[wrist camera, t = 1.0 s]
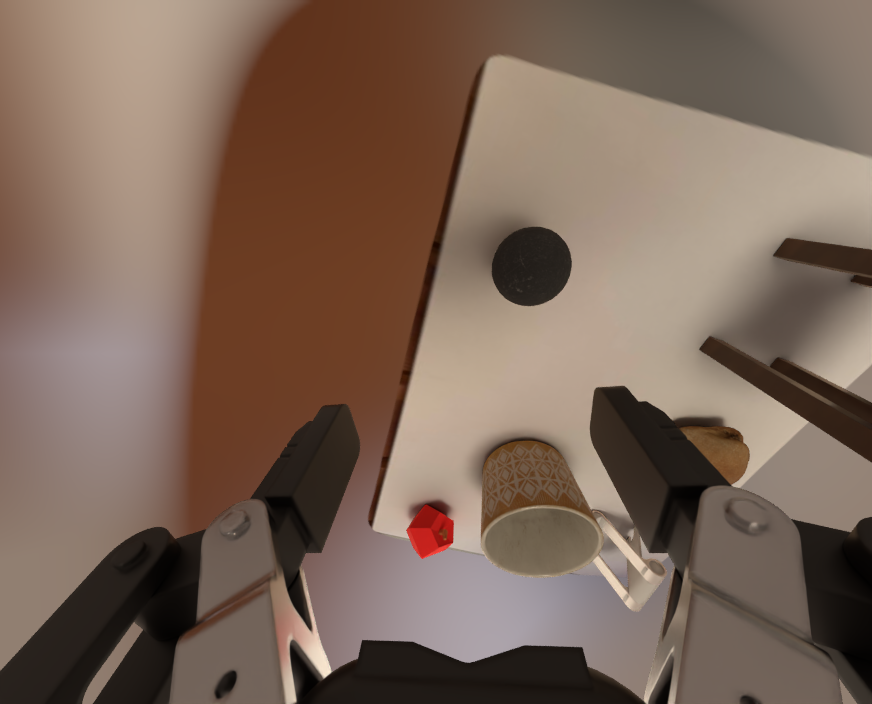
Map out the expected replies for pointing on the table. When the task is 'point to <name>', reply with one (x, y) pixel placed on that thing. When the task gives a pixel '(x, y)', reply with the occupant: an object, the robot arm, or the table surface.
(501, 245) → the light bulb
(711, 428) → the stone
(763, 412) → the table surface
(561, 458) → the planter
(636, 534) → the tablet stand
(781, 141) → the table surface
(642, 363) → the table surface
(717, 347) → the walnut stand
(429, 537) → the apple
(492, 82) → the table surface
